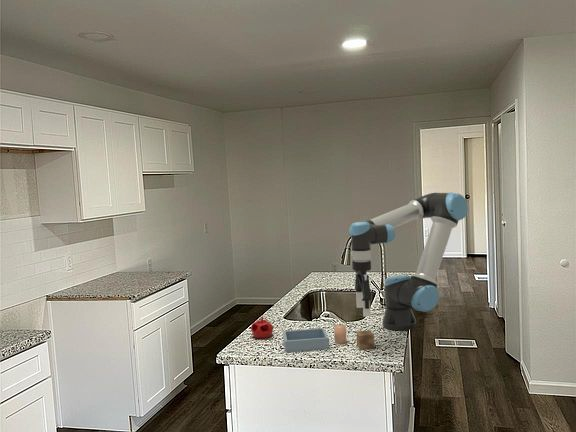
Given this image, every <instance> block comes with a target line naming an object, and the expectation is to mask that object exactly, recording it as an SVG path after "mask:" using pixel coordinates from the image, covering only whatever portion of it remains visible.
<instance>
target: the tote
mask: <svg viewBox="0 0 576 432" xmlns="http://www.w3.org/2000/svg"><path fill="white" fill-rule="evenodd" d="M282 337H283V345H284V346H283V347H284V352H285V353H293V352H295V353H296V352H306V351H307V352H308V351H320V350H329V349H330V342H329V341H330V339H329V336H328V333H327V331H326V329H325V328H324V327H320V328H309V329H307V328H304V329H293V330H283V331H282Z"/></svg>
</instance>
